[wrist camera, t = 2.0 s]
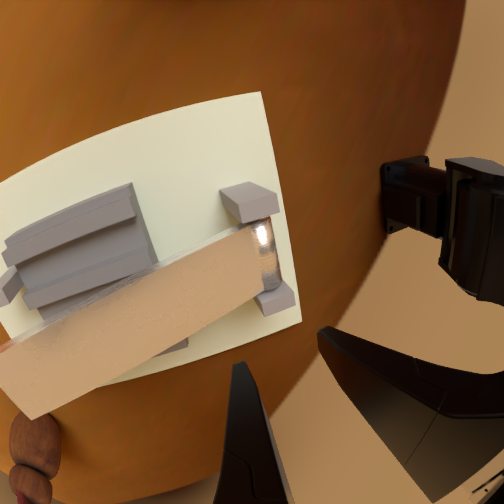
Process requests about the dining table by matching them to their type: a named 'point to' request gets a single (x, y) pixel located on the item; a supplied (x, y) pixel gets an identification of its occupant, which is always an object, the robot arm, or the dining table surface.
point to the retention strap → (137, 318)
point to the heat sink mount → (145, 219)
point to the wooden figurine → (34, 458)
